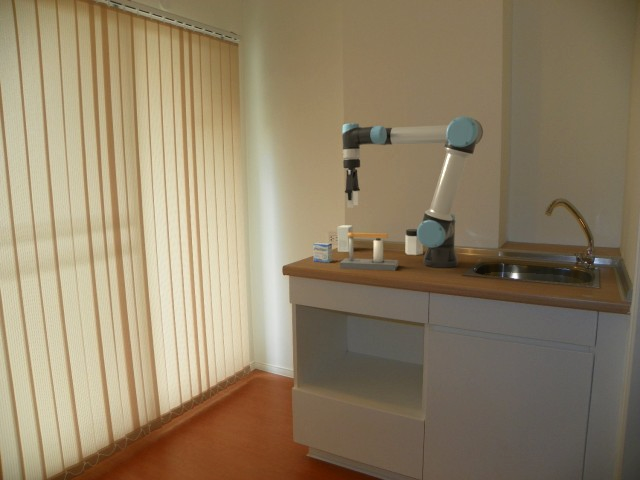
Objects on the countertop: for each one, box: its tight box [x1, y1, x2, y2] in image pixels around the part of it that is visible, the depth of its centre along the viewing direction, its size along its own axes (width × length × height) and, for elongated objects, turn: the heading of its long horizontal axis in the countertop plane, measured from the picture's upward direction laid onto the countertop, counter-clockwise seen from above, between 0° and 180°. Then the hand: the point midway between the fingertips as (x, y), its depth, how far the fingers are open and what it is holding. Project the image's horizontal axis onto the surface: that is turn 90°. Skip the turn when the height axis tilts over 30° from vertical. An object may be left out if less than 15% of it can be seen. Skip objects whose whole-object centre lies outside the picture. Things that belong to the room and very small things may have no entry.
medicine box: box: [312, 242, 333, 264], centre depth 232 cm, size 8×4×9 cm, turn 62°
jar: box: [404, 228, 424, 256], centre depth 247 cm, size 9×8×12 cm
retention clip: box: [348, 232, 389, 239], centre depth 214 cm, size 17×3×2 cm, turn 74°
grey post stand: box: [339, 237, 399, 272], centre depth 215 cm, size 24×10×14 cm, turn 74°
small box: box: [336, 224, 354, 253], centre depth 259 cm, size 8×6×13 cm
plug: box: [372, 238, 384, 263], centre depth 214 cm, size 4×4×13 cm
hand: (353, 206), depth 222 cm, fingers open, 13 cm apart
